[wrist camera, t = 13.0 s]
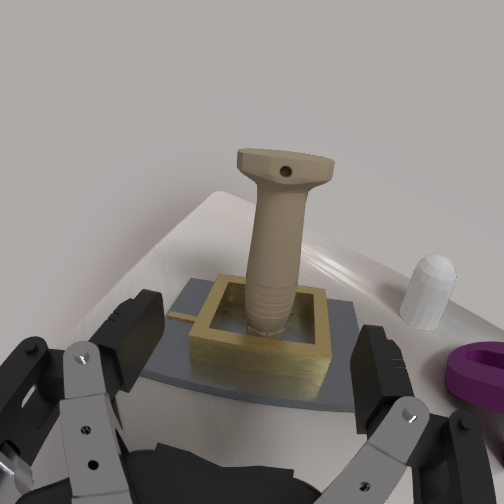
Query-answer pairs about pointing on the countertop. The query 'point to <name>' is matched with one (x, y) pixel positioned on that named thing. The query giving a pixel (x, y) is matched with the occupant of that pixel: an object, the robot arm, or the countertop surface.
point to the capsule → (428, 292)
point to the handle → (277, 232)
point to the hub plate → (258, 348)
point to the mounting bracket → (478, 374)
